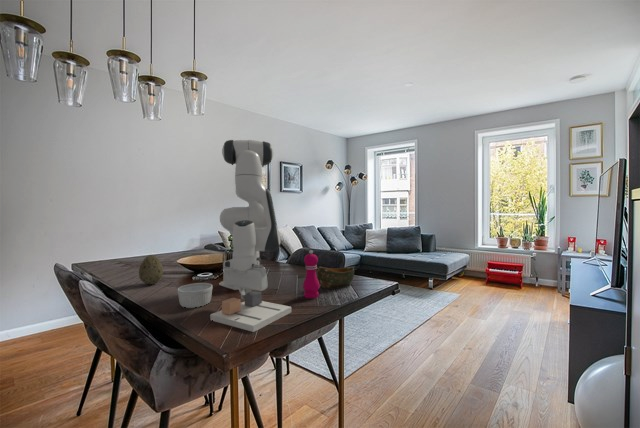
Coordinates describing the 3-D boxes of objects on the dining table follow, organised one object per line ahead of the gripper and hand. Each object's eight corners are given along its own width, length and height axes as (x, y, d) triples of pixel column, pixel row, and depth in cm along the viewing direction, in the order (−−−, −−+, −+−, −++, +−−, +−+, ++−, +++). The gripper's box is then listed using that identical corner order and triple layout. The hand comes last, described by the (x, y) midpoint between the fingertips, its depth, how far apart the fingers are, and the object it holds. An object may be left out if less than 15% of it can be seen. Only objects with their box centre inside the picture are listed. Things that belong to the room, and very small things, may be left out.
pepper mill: (317, 299, 126) (317, 251, 125) (301, 298, 127) (300, 251, 127) (321, 294, 133) (320, 249, 132) (305, 293, 134) (304, 249, 134)
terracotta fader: (222, 312, 105) (221, 301, 104) (232, 308, 109) (232, 297, 109) (230, 314, 102) (229, 303, 102) (240, 310, 107) (240, 299, 107)
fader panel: (210, 320, 104) (210, 314, 104) (251, 303, 121) (251, 298, 121) (253, 332, 94) (253, 325, 94) (291, 312, 111) (291, 306, 111)
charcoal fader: (244, 304, 113) (244, 294, 113) (254, 301, 117) (253, 291, 117) (252, 306, 111) (252, 295, 111) (261, 302, 115) (261, 292, 115)
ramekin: (196, 311, 113) (196, 292, 113) (169, 307, 118) (169, 289, 118) (219, 300, 126) (219, 284, 126) (194, 297, 130) (194, 281, 130)
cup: (314, 282, 153) (314, 262, 153) (353, 283, 152) (353, 263, 152) (312, 290, 140) (312, 268, 140) (355, 290, 139) (355, 269, 139)
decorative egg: (168, 282, 156) (167, 254, 156) (148, 288, 147) (147, 257, 146) (153, 280, 161) (153, 252, 160) (134, 285, 151) (133, 256, 151)
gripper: (270, 264, 113) (271, 300, 113) (232, 259, 123) (233, 293, 124) (259, 267, 107) (260, 305, 108) (220, 262, 118) (220, 297, 118)
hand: (245, 298), depth 116 cm, fingers closed
